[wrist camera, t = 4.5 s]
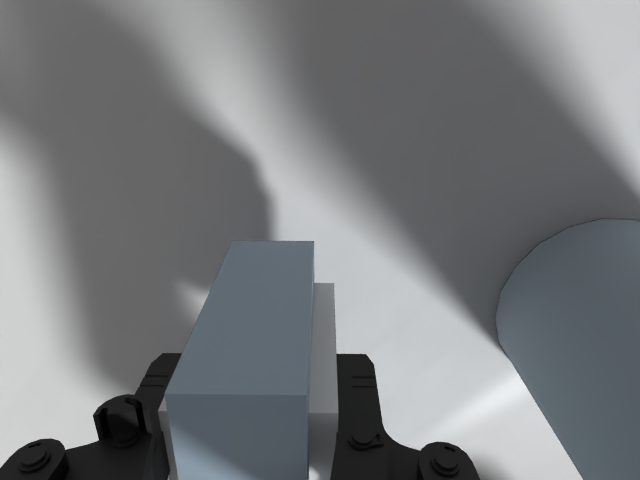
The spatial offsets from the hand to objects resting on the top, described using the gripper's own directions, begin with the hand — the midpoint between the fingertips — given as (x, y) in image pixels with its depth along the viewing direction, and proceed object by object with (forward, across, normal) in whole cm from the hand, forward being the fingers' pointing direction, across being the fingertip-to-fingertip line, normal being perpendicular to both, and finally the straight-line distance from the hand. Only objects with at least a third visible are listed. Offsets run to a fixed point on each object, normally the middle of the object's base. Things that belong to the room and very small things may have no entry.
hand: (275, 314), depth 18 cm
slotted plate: (0, 0, -5) cm, 5 cm away
